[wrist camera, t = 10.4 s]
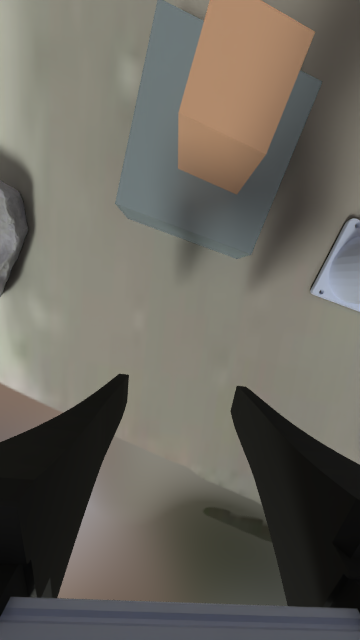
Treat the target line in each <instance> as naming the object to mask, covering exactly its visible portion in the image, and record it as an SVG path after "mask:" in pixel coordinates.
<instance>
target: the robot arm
mask: <svg viewBox="0 0 360 640" xmlns="http://www.w3.org/2000/svg"><path fill="white" fill-rule="evenodd" d="M355 224H356V228H355ZM320 290H321V293H320V294H319V291H320ZM311 294H313V295H315V296H318V297H320V298H323V299H326V300H329V301H331V302H334V303H337V304H340V305H342V306H345V307H348V308H351V309H353V310H356V311H359V312H360V220H358V219H356V218H352V219H349V220H348V221H347V222H346V223H345V225H344V227H343V229H342V231H341V233H340V235H339V237H338V238H337V240H336V242H335V244H334V246H333V248H332V250H331V252H330V254H329V256H328V258H327V260H326V261H325V263H324V265H323V267H322V269H321V271H320V273H319V275H318V277H317V279H316V281H315V283H314V285H313V286H312V288H311ZM128 379H129V375H126V374H118V375H117V376H116V377H115V378H113V379H112V380H111V381H109V382H108V383H107V384H106V385H104V386H103V387H102V388H100V389H99V390H98V391H96V392H95V393H94V394H92V395H91V396H89V397H88V398H87V399H85V400H84V401H82V402H81V403H79V404H77V405H76V406H74V407H73V408H71V409H69V410H67V411H66V412H64V413H62V414H60V415H59V416H57V417H55V418H53V419H51V420H49V421H47V422H45V423H43V424H41V425H39V426H37V427H35V428H33V429H30V430H28V431H26V432H24V433H21V434H19V435H17V436H14V437H12V438H10V439H7V440H5V441H2V442H0V640H360V465H359V464H357V463H355V462H353V461H352V460H350V459H348V458H346V457H344V456H343V455H341V454H339V453H337V452H336V451H334V450H332V449H331V448H329V447H327V446H325V445H324V444H322V443H320V442H319V441H317V440H316V439H314V438H313V437H311V436H310V435H308V434H307V433H305V432H304V431H302V430H301V429H299V428H298V427H296V426H295V425H293V424H292V423H291V422H289V421H288V420H287V419H285V418H284V417H283V416H281V415H280V414H279V413H278V412H276V411H275V410H274V409H273V408H271V407H270V406H269V405H268V404H266V403H265V402H264V401H263V400H262V399H260V398H259V397H258V396H257V395H256V394H254V393H253V392H252V391H251V390H249V389H248V388H247V387H243V386H237V387H236V391H235V395H234V399H233V404H232V408H231V415H232V419H233V423H234V426H235V429H236V432H237V435H238V437H239V440H240V442H241V445H242V447H243V450H244V452H245V455H246V457H247V460H248V462H249V465H250V468H251V470H252V473H253V476H254V479H255V482H256V486H257V489H258V492H259V496H260V499H261V502H262V506H263V509H264V513H265V517H266V520H267V524H268V527H269V531H270V535H271V539H272V543H273V547H274V550H275V554H276V558H277V562H278V567H279V570H280V575H281V579H282V583H283V588H284V592H285V596H286V600H287V605H288V606H266V605H238V604H209V603H207V604H206V603H178V602H150V601H149V602H148V601H120V600H90V599H62V598H60V599H59V598H57V596H58V594H59V590H60V587H61V584H62V581H63V578H64V575H65V572H66V568H67V565H68V562H69V559H70V556H71V553H72V550H73V546H74V543H75V540H76V537H77V534H78V531H79V528H80V525H81V522H82V519H83V516H84V513H85V510H86V507H87V504H88V501H89V498H90V496H91V492H92V489H93V487H94V484H95V481H96V478H97V476H98V473H99V470H100V467H101V464H102V462H103V460H104V457H105V455H106V452H107V450H108V448H109V445H110V443H111V441H112V439H113V437H114V435H115V432H116V430H117V428H118V426H119V423H120V421H121V419H122V416H123V413H124V410H125V407H126V404H127V396H128Z"/></svg>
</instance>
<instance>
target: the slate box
mask: <svg viewBox="0 0 360 640" xmlns="http://www.w3.org/2000/svg"><path fill="white" fill-rule="evenodd" d="M203 23H204V21H203V20H201V19H199V18H197V17H195V16H193V15H191V14H189V13H187V12H185V11H183V10H181V9H179V8H177V7H175V6H173V5H171V4H169V3H168V2H166V1H164V0H158V1H157V5H156V10H155V15H154V20H153V25H152V29H151V34H150V39H149V44H148V49H147V53H146V58H145V63H144V68H143V73H142V77H141V82H140V87H139V92H138V97H137V101H136V106H135V111H134V116H133V121H132V125H131V130H130V135H129V140H128V145H127V149H126V154H125V159H124V164H123V169H122V173H121V178H120V183H119V188H118V193H117V197H116V202H115V204H116V205H117V206H118V207H119V209H120V210H121V211H122V212H123V213H124V215H125V216H126V217H127V218H128V219H130V220H133V221H136V222H138V223H141V224H144V225H147V226H149V227H152V228H155V229H157V230H160V231H163V232H166V233H168V234H171V235H174V236H176V237H179V238H182V239H184V240H187V241H190V242H193V243H195V244H198V245H201V246H203V247H206V248H209V249H211V250H214V251H217V252H220V253H222V254H225V255H228V256H230V257H233V258H236V259H238V258H241V257H245V256H248V255H251V254H252V251H253V249H254V246H255V244H256V241H257V239H258V237H259V234H260V232H261V229H262V227H263V224H264V222H265V220H266V217H267V215H268V212H269V210H270V207H271V205H272V203H273V200H274V198H275V195H276V193H277V191H278V188H279V186H280V183H281V181H282V178H283V176H284V174H285V171H286V169H287V166H288V164H289V161H290V159H291V157H292V154H293V152H294V149H295V147H296V145H297V142H298V140H299V137H300V135H301V132H302V130H303V128H304V125H305V123H306V120H307V118H308V115H309V113H310V111H311V108H312V106H313V103H314V101H315V99H316V96H317V94H318V91H319V89H320V86H321V84H322V81H320V80H318V79H316V78H314V77H312V76H311V75H309V74H307V73H305V72H303V71H301V70H300V71H299V74H298V76H297V79H296V81H295V84H294V86H293V89H292V91H291V94H290V96H289V99H288V101H287V104H286V106H285V109H284V111H283V114H282V116H281V119H280V121H279V124H278V126H277V129H276V131H275V133H274V136H273V138H272V141H271V143H270V146H269V148H268V151H267V153H266V155H265V157H264V158H263V159H262V161H261V162H260V163H259V165H258V166H257V168H256V169H255V170H254V172H253V173H252V174H251V176H250V177H249V179H248V180H247V181H246V183H245V184H244V185H243V187H242V188H241V190H240V191H239V192H238V194H237V195H236V194H234V193H232V192H230V191H227V190H225V189H223V188H221V187H218V186H216V185H214V184H212V183H209V182H207V181H205V180H202V179H200V178H198V177H196V176H193V175H191V174H189V173H187V172H184V171H182V170H180V169H178V112H179V109H180V105H181V102H182V98H183V94H184V91H185V87H186V84H187V80H188V77H189V73H190V69H191V66H192V62H193V59H194V55H195V52H196V48H197V45H198V41H199V37H200V34H201V30H202V27H203Z"/></svg>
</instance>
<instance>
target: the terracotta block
mask: <svg viewBox="0 0 360 640" xmlns="http://www.w3.org/2000/svg"><path fill="white" fill-rule="evenodd" d="M314 34H315V32H314V31H313V30H311V29H309V28H308V27H306V26H304V25H302V24H301V23H299V22H297V21H296V20H294V19H292V18H290V17H289V16H287V15H285V14H284V13H282V12H280V11H278V10H277V9H275V8H273V7H272V6H270V5H268V4H266V3H265V2H263V1H261V0H210V2H209V5H208V9H207V12H206V16H205V20H204V23H203V27H202V30H201V34H200V37H199V41H198V45H197V48H196V52H195V55H194V59H193V62H192V66H191V69H190V73H189V77H188V80H187V84H186V87H185V91H184V94H183V98H182V102H181V105H180V109H179V112H178V169H180V170H182V171H184V172H187V173H189V174H191V175H193V176H196V177H198V178H200V179H202V180H205V181H207V182H209V183H212V184H214V185H216V186H218V187H221V188H223V189H225V190H227V191H230V192H232V193H234V194H236V195H237V194H238V192H239V191H240V190H241V188H242V187H243V185H244V184H245V183H246V181H247V180H248V179H249V177H250V176H251V174H252V173H253V172H254V170H255V169H256V168H257V166H258V165H259V163H260V162H261V161H262V159H263V158H264V157H265V155H266V153H267V151H268V148H269V146H270V143H271V141H272V138H273V136H274V133H275V131H276V129H277V126H278V124H279V121H280V119H281V116H282V114H283V111H284V109H285V106H286V104H287V101H288V99H289V96H290V94H291V91H292V89H293V86H294V84H295V81H296V79H297V76H298V74H299V71H300V69H301V66H302V64H303V61H304V59H305V56H306V54H307V51H308V49H309V46H310V44H311V41H312V39H313V36H314Z"/></svg>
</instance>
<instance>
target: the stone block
mask: <svg viewBox="0 0 360 640" xmlns="http://www.w3.org/2000/svg"><path fill="white" fill-rule="evenodd" d="M27 232H28V225H27V221H26V215H25V210H24V204H23V200H22V197H21V194H20V193H19V191H17V190H16V189H15V188H13V187H11V186H9V185H7V184H5V183H4V182H3V181H1V180H0V297H1V295H2V293H3V290H4V287H5V283H6V282H7V280H8V279H9V276H10V273H11V269H12V267H13V265H14V263H15V261H16V260H17V259H18V257H19V253H20V250H21V248H22V246H23V241H24V239H25V236H26V234H27Z"/></svg>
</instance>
